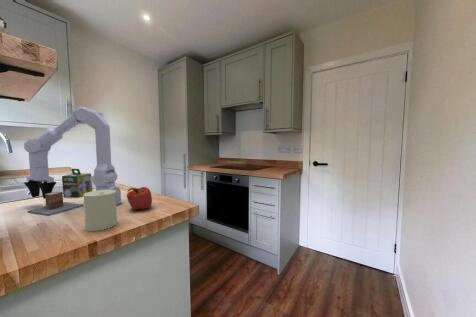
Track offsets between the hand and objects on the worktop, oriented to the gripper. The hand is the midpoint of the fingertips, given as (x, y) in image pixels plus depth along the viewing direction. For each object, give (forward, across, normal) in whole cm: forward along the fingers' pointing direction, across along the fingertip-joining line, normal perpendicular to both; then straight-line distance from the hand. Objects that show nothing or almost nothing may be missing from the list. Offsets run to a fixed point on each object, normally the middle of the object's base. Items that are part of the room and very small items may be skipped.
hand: (41, 197), depth 86 cm
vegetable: (+4, +43, +11) cm, 45 cm away
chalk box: (+4, -6, +19) cm, 20 cm away
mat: (+4, +10, 0) cm, 11 cm away
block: (+4, +9, 0) cm, 10 cm away
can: (+4, +44, -7) cm, 45 cm away
